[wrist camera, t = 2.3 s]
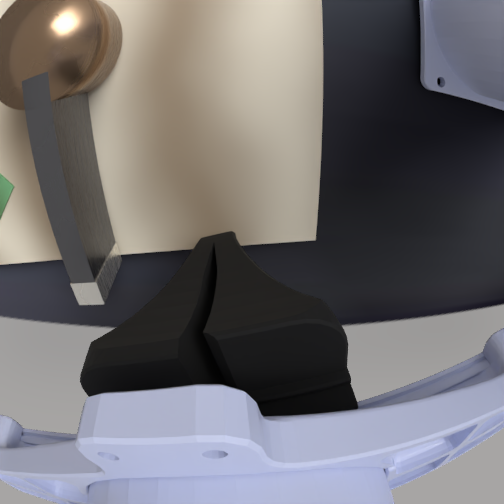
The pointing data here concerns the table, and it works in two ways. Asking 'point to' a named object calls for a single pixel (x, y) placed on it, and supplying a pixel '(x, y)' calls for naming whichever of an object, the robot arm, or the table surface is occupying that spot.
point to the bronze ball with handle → (65, 124)
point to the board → (191, 130)
